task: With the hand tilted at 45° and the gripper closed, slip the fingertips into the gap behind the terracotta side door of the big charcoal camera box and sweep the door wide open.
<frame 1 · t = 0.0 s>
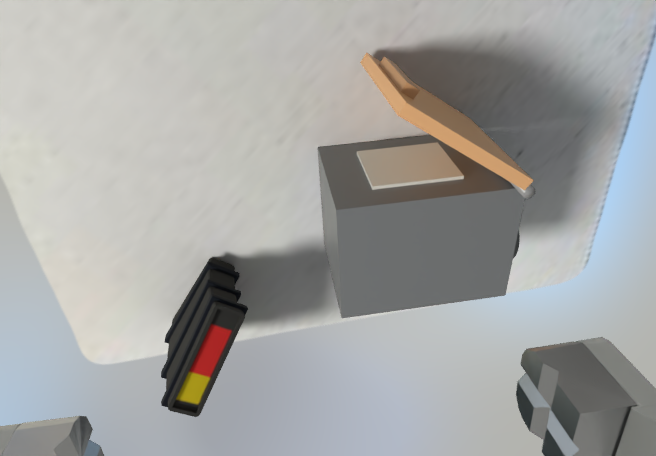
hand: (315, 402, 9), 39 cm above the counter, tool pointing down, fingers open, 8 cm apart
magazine: (207, 285, 57), on the counter
side door: (446, 118, 41), point 8 cm above the counter, hinge at 35.0°
camera box: (394, 190, 53), on the counter
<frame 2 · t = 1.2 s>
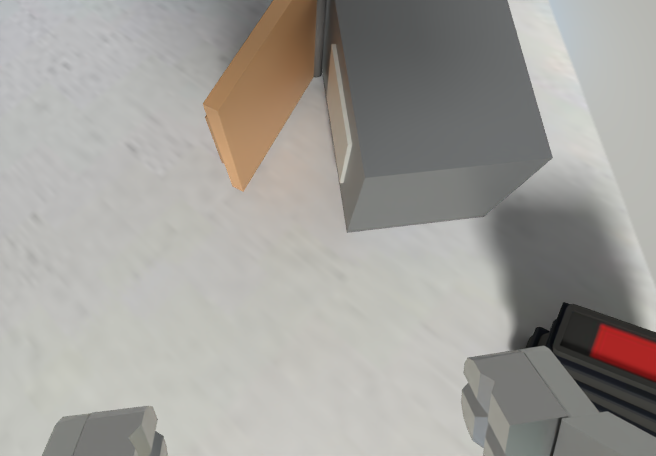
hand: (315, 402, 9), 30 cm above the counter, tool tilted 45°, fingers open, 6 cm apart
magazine: (570, 377, 39), on the counter
side door: (271, 81, 36), point 7 cm above the counter, hinge at 35.0°
camera box: (399, 139, 44), on the counter
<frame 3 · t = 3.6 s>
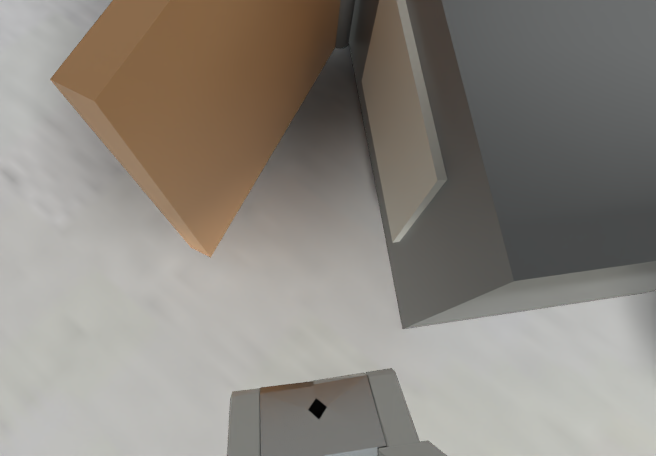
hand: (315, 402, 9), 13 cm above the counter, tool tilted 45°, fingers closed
side door: (261, 44, 17), point 8 cm above the counter, hinge at 35.0°
camera box: (486, 156, 25), on the counter
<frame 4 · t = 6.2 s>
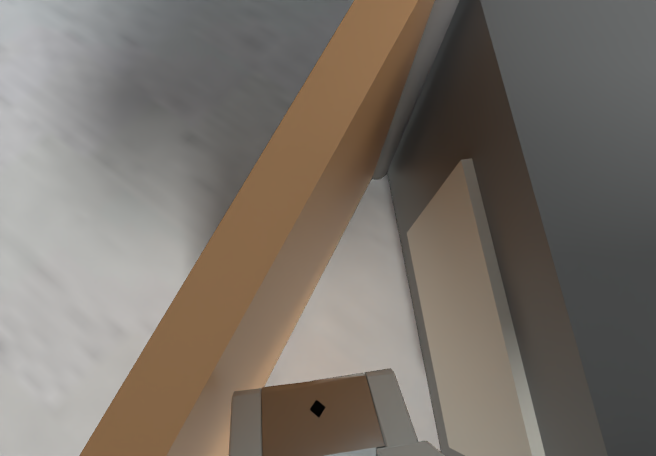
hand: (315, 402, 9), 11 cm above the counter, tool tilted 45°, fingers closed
side door: (296, 247, 14), point 7 cm above the counter, hinge at 35.0°, touching gripper
camera box: (548, 306, 21), on the counter
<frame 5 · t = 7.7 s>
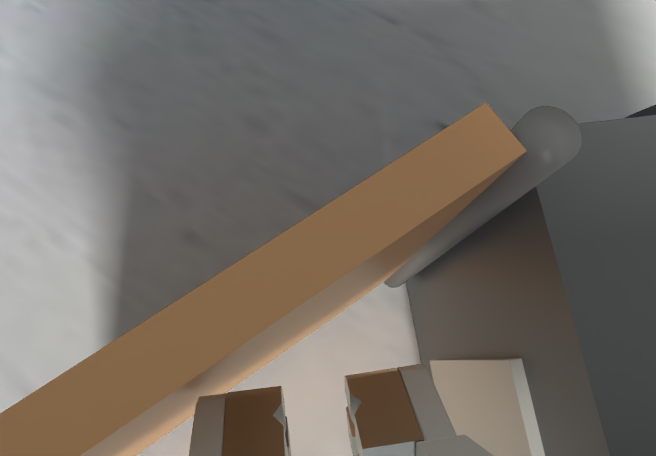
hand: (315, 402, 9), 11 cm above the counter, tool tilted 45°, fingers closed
side door: (235, 346, 13), point 7 cm above the counter, hinge at 63.9°, touching gripper
camera box: (579, 424, 20), on the counter
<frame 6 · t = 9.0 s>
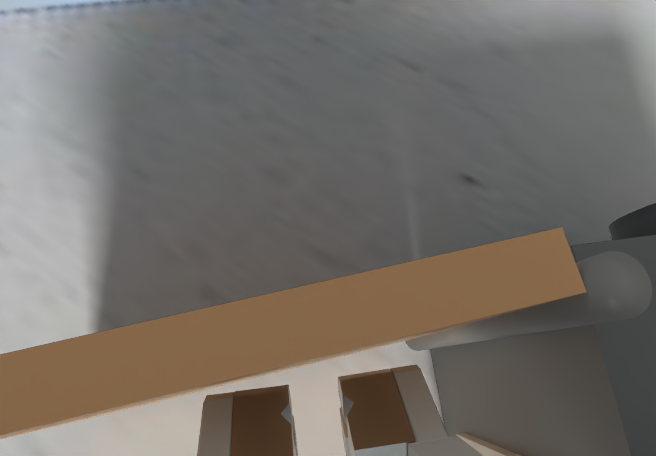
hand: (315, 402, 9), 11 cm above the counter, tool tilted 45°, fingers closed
side door: (237, 354, 13), point 7 cm above the counter, hinge at 84.5°, touching gripper
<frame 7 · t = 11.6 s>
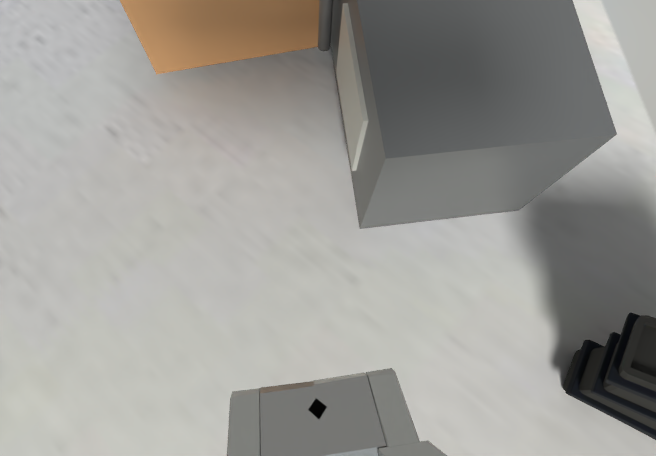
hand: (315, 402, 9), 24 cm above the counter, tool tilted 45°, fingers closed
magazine: (623, 399, 33), on the counter
camera box: (420, 122, 38), on the counter
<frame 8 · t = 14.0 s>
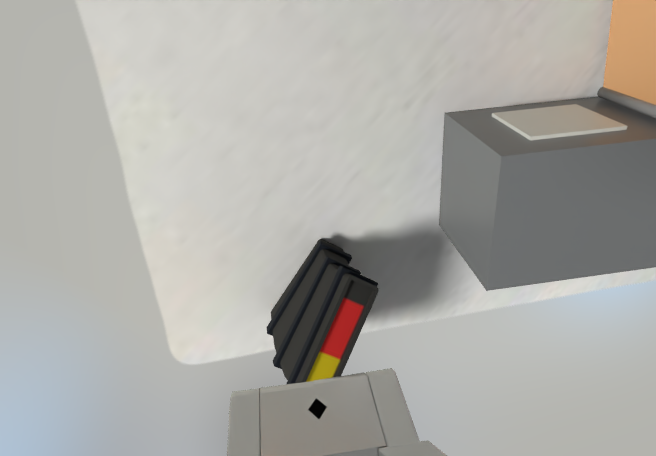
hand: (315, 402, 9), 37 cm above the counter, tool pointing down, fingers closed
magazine: (311, 272, 52), on the counter
camera box: (518, 163, 49), on the counter
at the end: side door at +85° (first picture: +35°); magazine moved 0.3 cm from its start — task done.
